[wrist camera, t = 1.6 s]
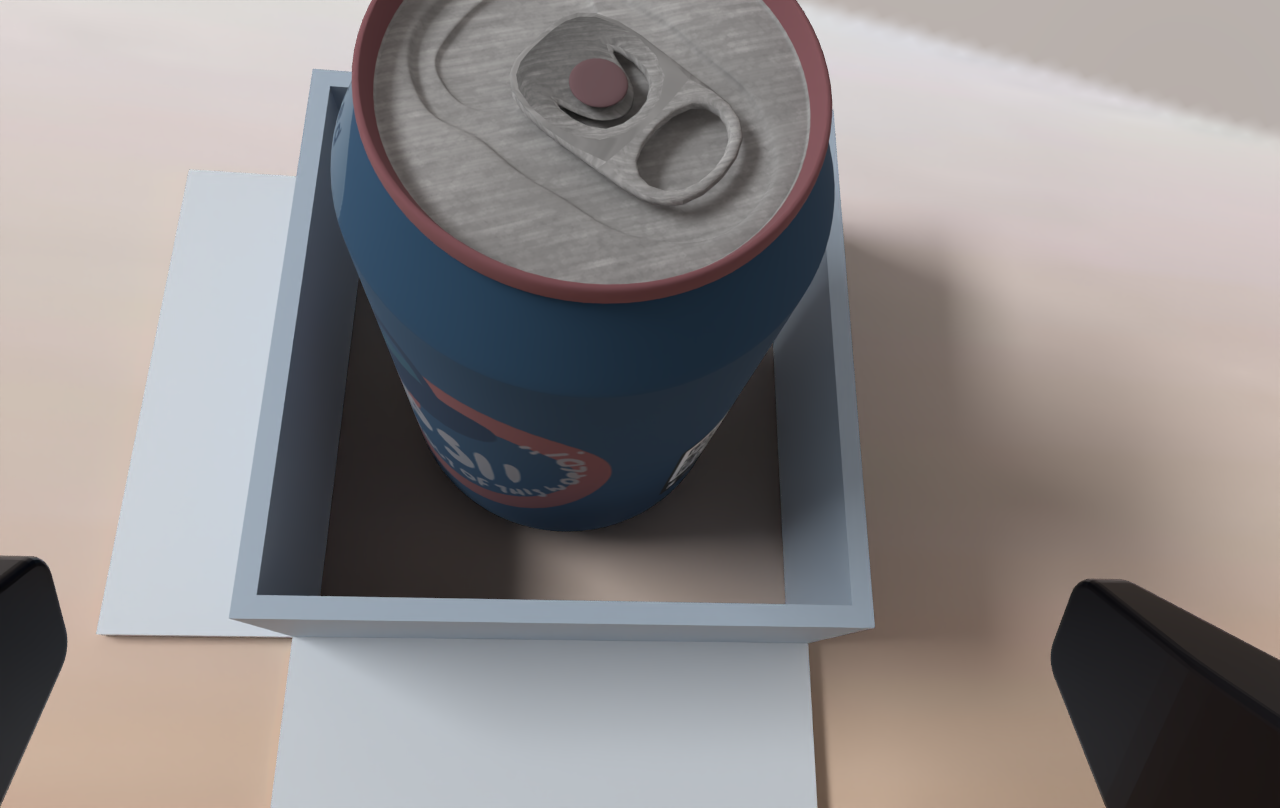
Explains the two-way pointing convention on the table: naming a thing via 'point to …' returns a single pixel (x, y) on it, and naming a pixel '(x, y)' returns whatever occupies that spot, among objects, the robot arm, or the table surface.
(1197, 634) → the robot arm
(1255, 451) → the table surface
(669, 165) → the soda can
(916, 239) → the table surface
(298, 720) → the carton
